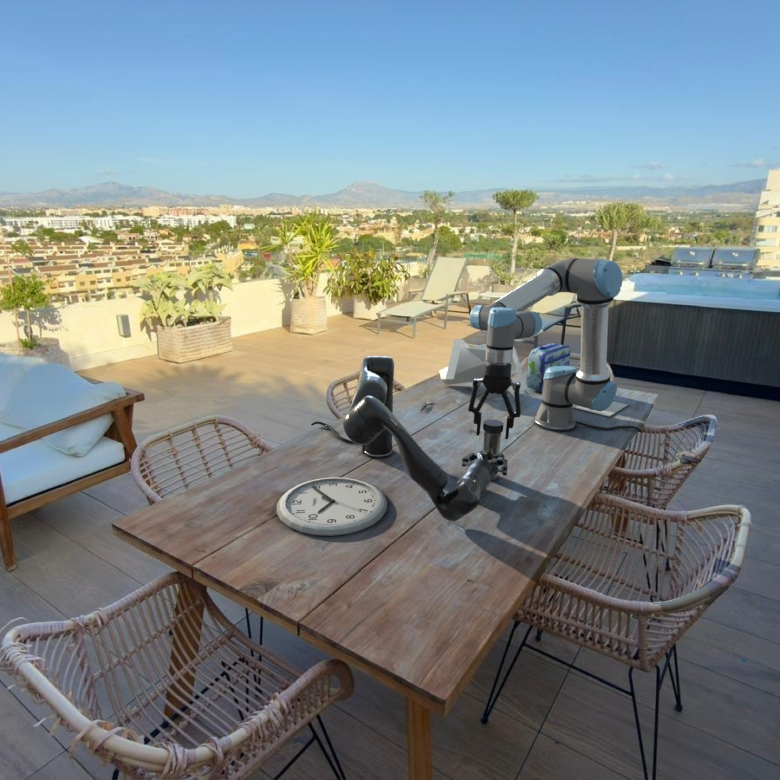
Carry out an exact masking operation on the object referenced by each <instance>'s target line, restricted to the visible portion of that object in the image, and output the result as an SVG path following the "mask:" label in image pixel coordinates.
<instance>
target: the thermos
mask: <svg viewBox="0 0 780 780" xmlns="http://www.w3.org/2000/svg"><path fill="white" fill-rule="evenodd" d="M483 432H484V433H483V443H482V445H483V446H482V450H483V457H482V459H485V460H491V459H493V458H498V456H499V455H500V453H501V438H502V432H501V433H496V434H494V433H488V432H485V431H484V430H483ZM498 474H499V472H498V473H497V474H494V476H493V478H492V479H491V481H494V480H495V481H496V480H497V479H498V476H499V475H498Z"/></svg>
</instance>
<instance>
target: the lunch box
mask: <svg viewBox="0 0 780 780" xmlns="http://www.w3.org/2000/svg"><path fill="white" fill-rule="evenodd" d="M570 361H571V347H570V345H565V344H558V343H549V344H545V345H542V346H541V345H540V346H538V347H536V348H533V349H531V351H530V353H529V354H528V358H527V368H526V380H525V381H526V384H527V387H528V390H530V389H531V390H534V391H535V390H536V391H539V392H541V393H542V391H543V381H544V380H543V378H544V374H545V371H546V369H547V368H550V367H554V366H570Z"/></svg>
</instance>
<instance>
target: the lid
mask: <svg viewBox="0 0 780 780" xmlns="http://www.w3.org/2000/svg"><path fill="white" fill-rule="evenodd" d="M482 430H483V432H484V431H485V432H488V433H494V434H496V433H501V434H502V433H503V431H504V422H503V421H501V420H500V419H493V418H492V419H491V418H489V419H485V420H483V423H482Z"/></svg>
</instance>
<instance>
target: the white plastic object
mask: <svg viewBox="0 0 780 780" xmlns="http://www.w3.org/2000/svg"><path fill="white" fill-rule="evenodd" d="M486 347H487V343H483V344H479V345H473V346H469V345H468V343H466V342H465V340H464V339H463V338H460V339H458V338H454V340H453V344H452V349H451V353H450V357H449V362H448V366H446V367H444V368H442V369H440V370H439V371H438V372H439V376H440V381H442V383H443V384H444V385H445V386H449V385H458V384H467V383H468V384H469V383H473V381H474V379H475V378H477V379H483V377H484V371H485V363H486V362H487V361H486V360H485V358H486ZM512 361H513V363H514V366H515V369H516V372H517V376H518V380H519V383H521V386H520V387H521V389H522V391H523V393H524V395H525V396H526V397H528V396H531V395H530V389H529V388H528V387H527V384H526V381H527V380H526V378H525V375H524V371H523V369H522V368H523V367H522V366H521V362H520V359H519V355H518V352H517V349H516V347H515V346H514V345H513V355H512ZM511 380H512V382H514V381H513V378H512V377H511ZM508 390H509V393H510V394H511V395H512V397H513V398H515V395H514V392H515V390H513V387H512V386H510V387H509V388H508Z"/></svg>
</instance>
